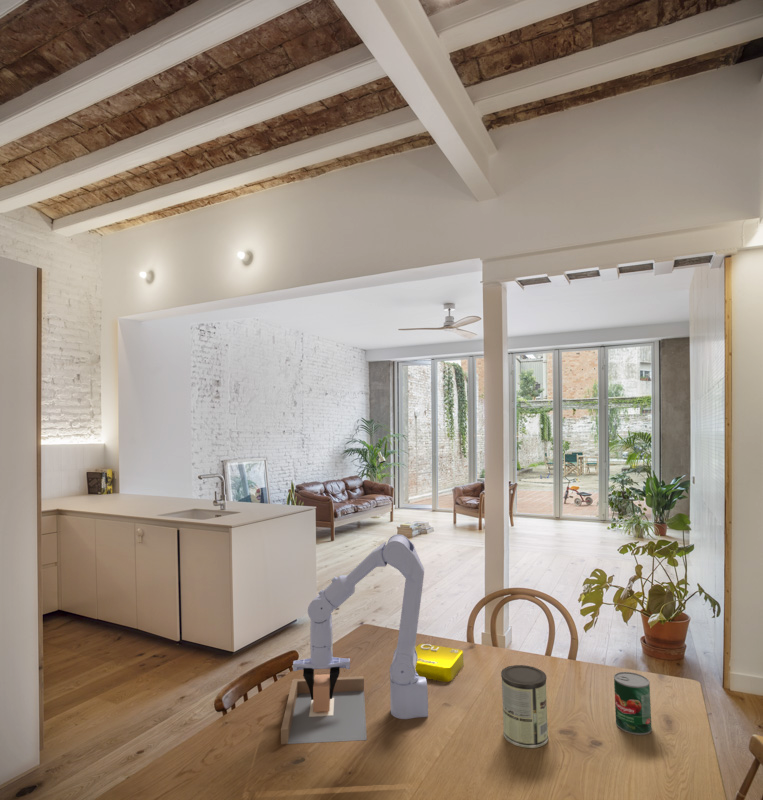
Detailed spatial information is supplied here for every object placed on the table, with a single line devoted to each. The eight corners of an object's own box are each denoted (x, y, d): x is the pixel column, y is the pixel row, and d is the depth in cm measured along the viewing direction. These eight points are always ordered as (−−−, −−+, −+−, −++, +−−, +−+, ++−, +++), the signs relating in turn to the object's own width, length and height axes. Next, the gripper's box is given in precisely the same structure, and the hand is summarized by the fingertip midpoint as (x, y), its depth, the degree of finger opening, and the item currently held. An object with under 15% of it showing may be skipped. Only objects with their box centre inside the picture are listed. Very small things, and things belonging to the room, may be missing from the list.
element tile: (401, 675, 162) (401, 658, 162) (419, 656, 175) (419, 640, 176) (450, 684, 155) (449, 667, 156) (465, 663, 169) (465, 648, 169)
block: (329, 711, 138) (329, 686, 138) (313, 711, 138) (313, 687, 138) (330, 697, 145) (330, 674, 145) (315, 698, 145) (314, 674, 145)
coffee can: (505, 721, 135) (503, 662, 135) (549, 728, 131) (547, 667, 132) (500, 744, 125) (498, 680, 126) (547, 752, 121) (545, 686, 122)
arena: (363, 691, 151) (363, 676, 151) (366, 743, 126) (366, 725, 126) (292, 694, 150) (292, 679, 150) (280, 747, 125) (280, 729, 125)
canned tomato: (652, 722, 133) (650, 675, 134) (651, 738, 126) (649, 689, 127) (617, 714, 137) (615, 669, 138) (613, 729, 130) (612, 682, 131)
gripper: (349, 636, 146) (350, 689, 146) (294, 638, 146) (295, 691, 145) (349, 647, 139) (350, 702, 139) (292, 649, 139) (292, 704, 138)
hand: (322, 697), depth 141 cm, fingers closed on block, 4 cm apart
